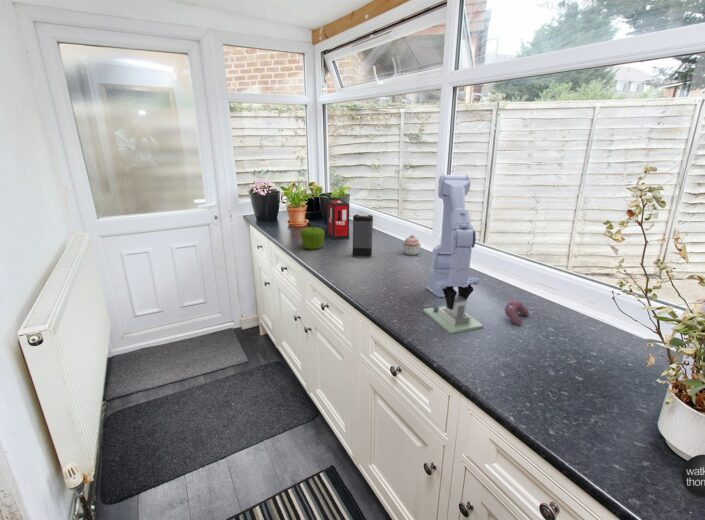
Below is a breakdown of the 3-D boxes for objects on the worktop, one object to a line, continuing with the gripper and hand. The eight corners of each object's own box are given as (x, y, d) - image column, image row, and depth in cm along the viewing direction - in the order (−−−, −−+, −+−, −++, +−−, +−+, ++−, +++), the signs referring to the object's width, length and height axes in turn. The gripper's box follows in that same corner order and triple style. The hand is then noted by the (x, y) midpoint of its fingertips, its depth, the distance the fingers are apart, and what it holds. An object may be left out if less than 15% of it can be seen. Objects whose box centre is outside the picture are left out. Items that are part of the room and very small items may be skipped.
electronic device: (371, 254, 186) (373, 214, 180) (371, 258, 181) (372, 217, 175) (353, 253, 187) (353, 214, 181) (352, 257, 182) (352, 216, 175)
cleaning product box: (348, 238, 215) (349, 204, 208) (333, 239, 212) (333, 204, 206) (341, 232, 230) (341, 199, 223) (327, 232, 227) (326, 200, 221)
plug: (445, 311, 121) (447, 294, 119) (455, 310, 122) (457, 293, 120) (455, 319, 116) (457, 301, 114) (465, 317, 117) (467, 300, 115)
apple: (323, 251, 190) (323, 230, 186) (299, 251, 190) (298, 229, 186) (325, 244, 201) (325, 224, 198) (303, 244, 202) (302, 224, 198)
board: (423, 311, 126) (423, 303, 125) (453, 306, 130) (454, 299, 129) (449, 333, 112) (450, 325, 111) (483, 327, 116) (484, 319, 115)
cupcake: (400, 255, 185) (401, 236, 182) (402, 250, 194) (403, 231, 191) (419, 257, 183) (421, 237, 180) (421, 252, 192) (422, 233, 189)
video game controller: (516, 316, 127) (510, 297, 127) (530, 314, 124) (523, 295, 124) (507, 327, 120) (500, 306, 120) (521, 325, 117) (514, 304, 116)
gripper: (446, 273, 108) (442, 316, 113) (487, 269, 113) (482, 309, 117) (433, 266, 115) (430, 306, 119) (473, 262, 119) (468, 300, 124)
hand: (455, 307), depth 119 cm, fingers closed on plug, 3 cm apart
